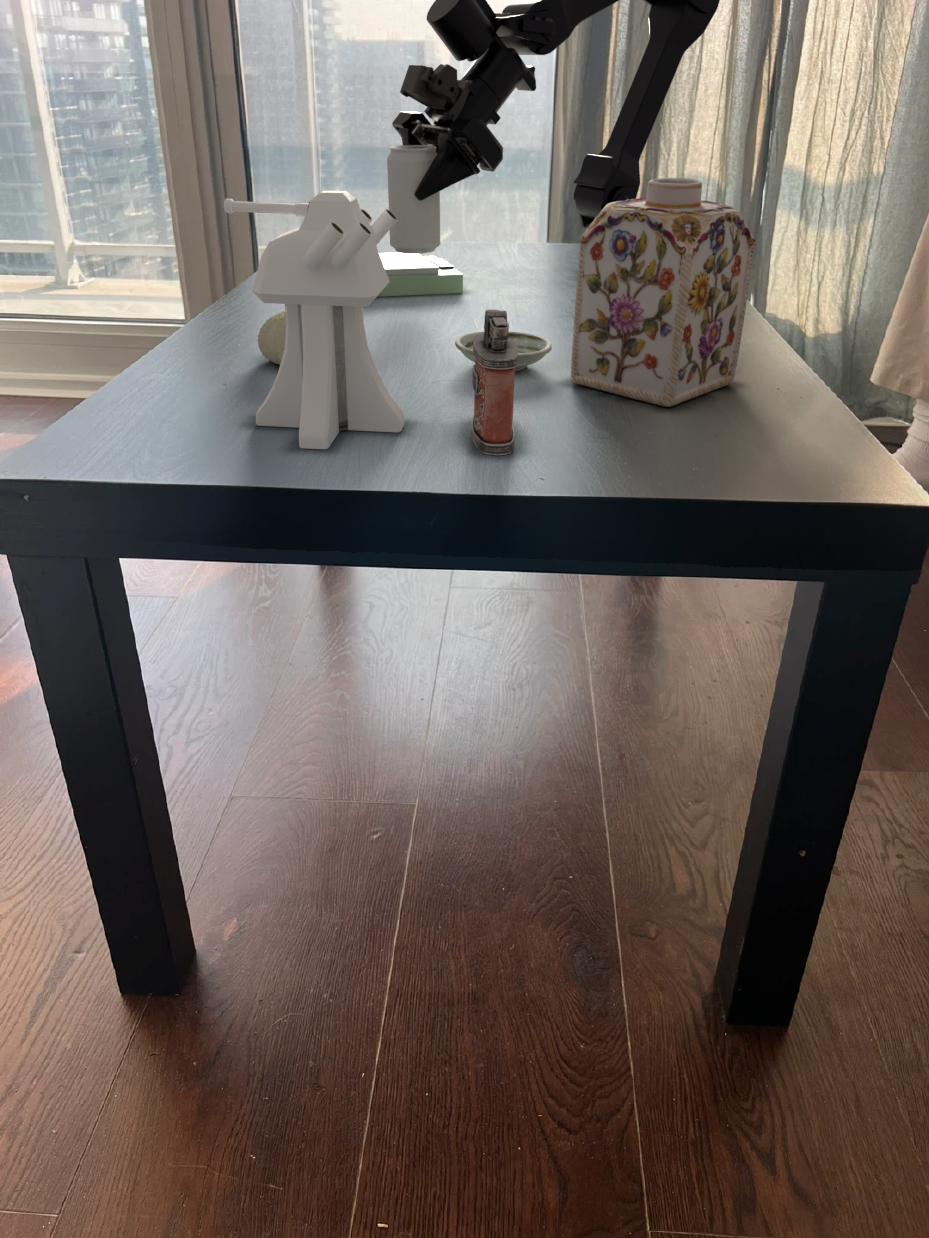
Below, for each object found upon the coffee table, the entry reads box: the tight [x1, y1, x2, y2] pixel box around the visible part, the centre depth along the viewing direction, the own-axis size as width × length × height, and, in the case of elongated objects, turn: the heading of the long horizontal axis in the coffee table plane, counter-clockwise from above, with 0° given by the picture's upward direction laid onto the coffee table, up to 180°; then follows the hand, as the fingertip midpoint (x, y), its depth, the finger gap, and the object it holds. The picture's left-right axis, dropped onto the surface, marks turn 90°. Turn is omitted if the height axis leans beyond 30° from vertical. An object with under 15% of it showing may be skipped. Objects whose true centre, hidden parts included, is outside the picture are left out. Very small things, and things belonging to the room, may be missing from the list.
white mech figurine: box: [223, 190, 405, 450], centre depth 77 cm, size 12×13×18 cm
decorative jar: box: [570, 177, 756, 408], centre depth 89 cm, size 12×12×18 cm
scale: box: [376, 252, 464, 298], centre depth 132 cm, size 16×14×3 cm
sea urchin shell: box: [257, 310, 286, 366], centre depth 98 cm, size 9×8×8 cm
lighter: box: [470, 309, 518, 456], centre depth 77 cm, size 8×3×10 cm, turn 5°
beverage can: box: [386, 144, 441, 255], centre depth 121 cm, size 6×6×12 cm
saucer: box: [454, 330, 553, 372], centre depth 98 cm, size 10×10×2 cm
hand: (404, 195), depth 120 cm, fingers closed on beverage can, 6 cm apart
